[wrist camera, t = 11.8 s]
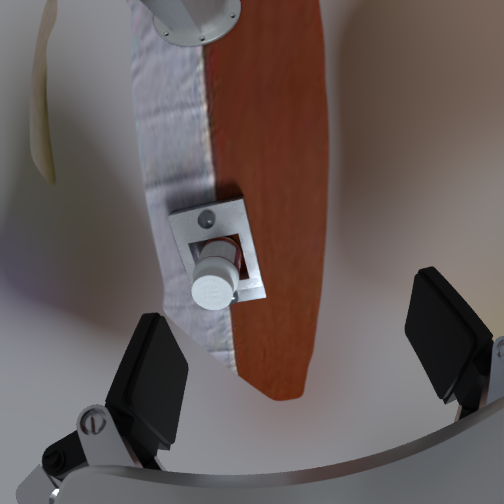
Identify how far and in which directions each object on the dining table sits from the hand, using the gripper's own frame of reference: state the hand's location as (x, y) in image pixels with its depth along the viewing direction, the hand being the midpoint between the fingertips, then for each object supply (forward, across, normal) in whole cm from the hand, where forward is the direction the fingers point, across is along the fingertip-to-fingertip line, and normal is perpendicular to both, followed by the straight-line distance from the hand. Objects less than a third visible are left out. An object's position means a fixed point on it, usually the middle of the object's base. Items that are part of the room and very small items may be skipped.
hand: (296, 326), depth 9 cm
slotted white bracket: (+31, +9, +12) cm, 34 cm away
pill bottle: (+31, +8, +12) cm, 34 cm away
